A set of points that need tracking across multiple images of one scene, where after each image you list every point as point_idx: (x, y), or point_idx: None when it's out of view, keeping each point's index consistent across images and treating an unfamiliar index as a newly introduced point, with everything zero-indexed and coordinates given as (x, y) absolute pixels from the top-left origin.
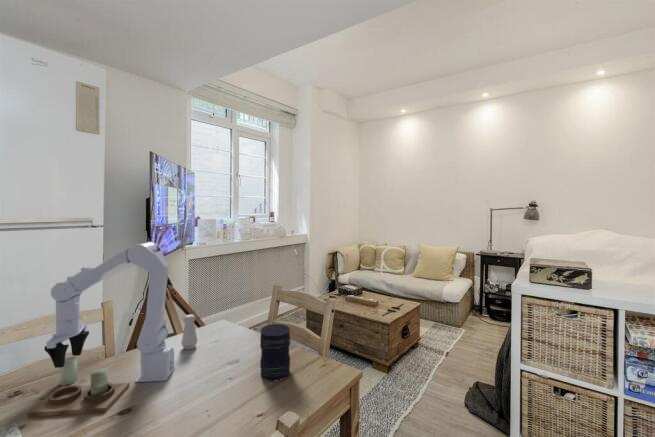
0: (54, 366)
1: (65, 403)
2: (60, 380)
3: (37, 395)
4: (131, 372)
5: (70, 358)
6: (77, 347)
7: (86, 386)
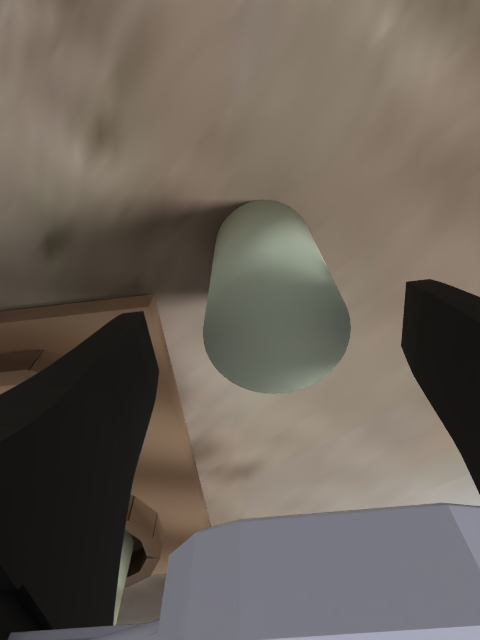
0: (118, 315)
1: None
2: (228, 223)
3: (75, 172)
4: (351, 503)
5: (314, 327)
6: (450, 384)
7: (167, 434)
